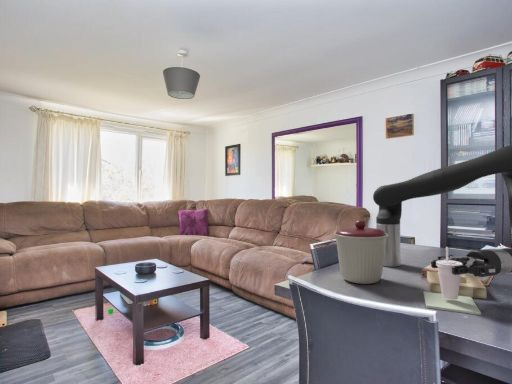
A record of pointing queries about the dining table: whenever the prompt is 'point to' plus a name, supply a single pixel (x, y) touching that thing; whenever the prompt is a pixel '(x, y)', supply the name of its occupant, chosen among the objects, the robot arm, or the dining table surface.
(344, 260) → the canister
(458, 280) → the smoothie
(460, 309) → the mat
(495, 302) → the dining table surface
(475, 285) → the holder
